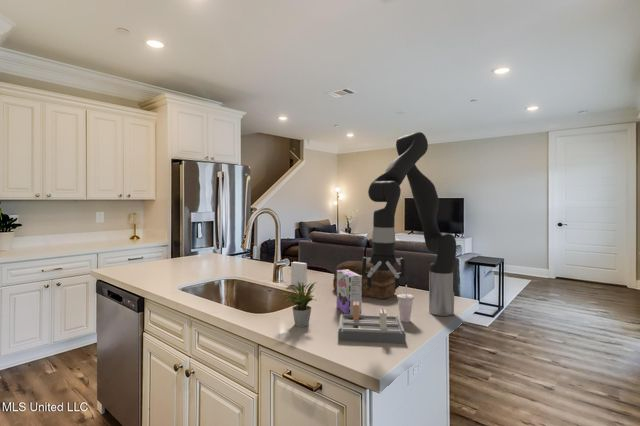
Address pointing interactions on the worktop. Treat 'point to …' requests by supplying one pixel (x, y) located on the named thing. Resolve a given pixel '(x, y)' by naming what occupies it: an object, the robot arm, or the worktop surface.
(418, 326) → the worktop surface
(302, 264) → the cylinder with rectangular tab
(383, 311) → the fader near
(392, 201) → the robot arm
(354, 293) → the candy box
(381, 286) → the bread
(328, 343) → the worktop surface
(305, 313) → the house plant
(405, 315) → the smoothie
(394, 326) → the console
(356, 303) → the block
